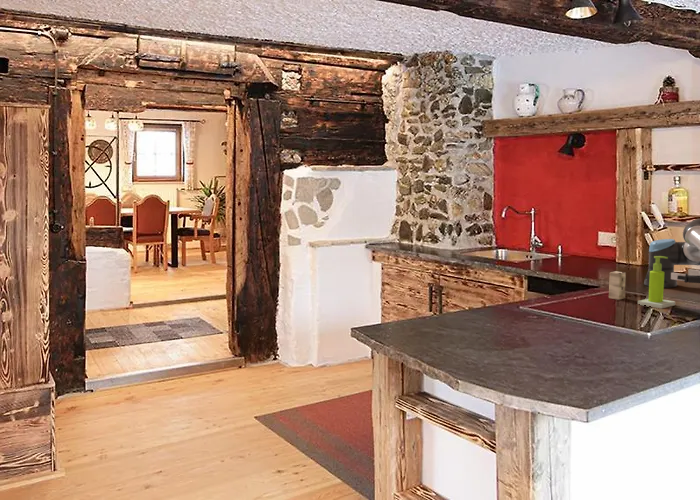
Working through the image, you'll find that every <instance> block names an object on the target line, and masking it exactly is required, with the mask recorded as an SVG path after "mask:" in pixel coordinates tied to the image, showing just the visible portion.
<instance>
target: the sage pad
mask: <svg viewBox="0 0 700 500" xmlns="http://www.w3.org/2000/svg"><path fill="white" fill-rule="evenodd" d="M638 304H640V305H639V306H644V305H646V306H645V307H649V306H651V307H650V308H656V309H665V308H669V307H673V306H676V301H674V300H668V299H663V302H650V301H648V298H645V299H641V300H637V305H638Z"/></svg>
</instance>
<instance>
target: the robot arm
mask: <svg viewBox="0 0 700 500" xmlns="http://www.w3.org/2000/svg"><path fill="white" fill-rule="evenodd" d="M682 239H683V240H684V241H676V240H675V239H673V238H664V239H662V238H661V239H655V240H653V241H651V242H650V244H649V249H648V270H647V272H646V275H645V278H644V283H643V284H644V285H645V286H648V287H649V277H650V271H653V264H654V263H655V262H656V258H654V256H664V257H667V259H666V258H660V263H661V264H662V269H661V271H663V272H664V289H665V288H666V289H667V288H669V289H670V288H677V287H678V281H681V282H684V283H685V284H686V283H689V284H690V283H691V284H700V269H693V268H692V269H690V268H688V269H687V272H688V273H678V272H675V266H700V218H697V219H694V220H692V221H690V222H688V223H687V224H686V225H685V227H683V232H682Z"/></svg>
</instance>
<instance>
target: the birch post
mask: <svg viewBox="0 0 700 500" xmlns="http://www.w3.org/2000/svg"><path fill="white" fill-rule="evenodd" d="M608 274H609V280H608V281H609V282H608V299H613V300H618V301H619V300H622V299H625V298H626V274H627V273H626V271H617V270H615V271H611V272H609V273H608Z"/></svg>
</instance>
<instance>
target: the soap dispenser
mask: <svg viewBox="0 0 700 500" xmlns="http://www.w3.org/2000/svg"><path fill="white" fill-rule="evenodd" d="M654 258H656V262H655V263H654V264H653V271H650V277H649V286H648V298H647V299H648V301H650V302H663V300H664V290H665V288H664V272H663V271H661V269H662V264H661V263H660V258H666V259H667V257H664V256H654Z"/></svg>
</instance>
